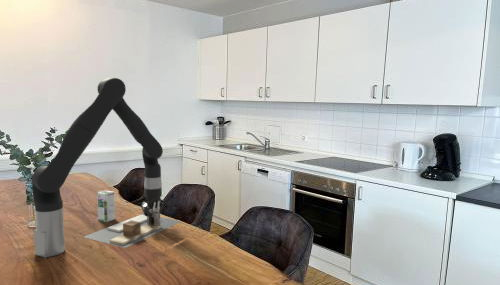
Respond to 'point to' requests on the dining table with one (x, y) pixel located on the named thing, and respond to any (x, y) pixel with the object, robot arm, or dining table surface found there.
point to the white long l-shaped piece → (119, 226)
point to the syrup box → (106, 206)
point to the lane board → (107, 234)
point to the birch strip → (144, 230)
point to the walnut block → (131, 228)
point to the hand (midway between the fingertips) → (153, 223)
